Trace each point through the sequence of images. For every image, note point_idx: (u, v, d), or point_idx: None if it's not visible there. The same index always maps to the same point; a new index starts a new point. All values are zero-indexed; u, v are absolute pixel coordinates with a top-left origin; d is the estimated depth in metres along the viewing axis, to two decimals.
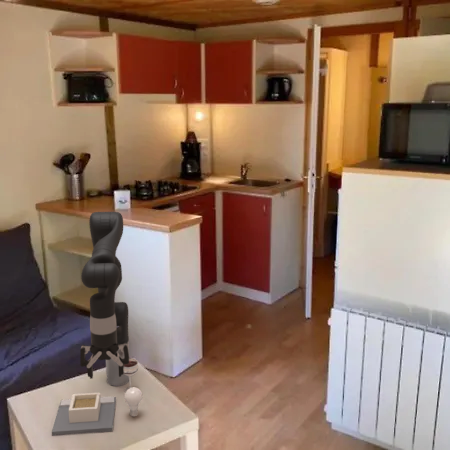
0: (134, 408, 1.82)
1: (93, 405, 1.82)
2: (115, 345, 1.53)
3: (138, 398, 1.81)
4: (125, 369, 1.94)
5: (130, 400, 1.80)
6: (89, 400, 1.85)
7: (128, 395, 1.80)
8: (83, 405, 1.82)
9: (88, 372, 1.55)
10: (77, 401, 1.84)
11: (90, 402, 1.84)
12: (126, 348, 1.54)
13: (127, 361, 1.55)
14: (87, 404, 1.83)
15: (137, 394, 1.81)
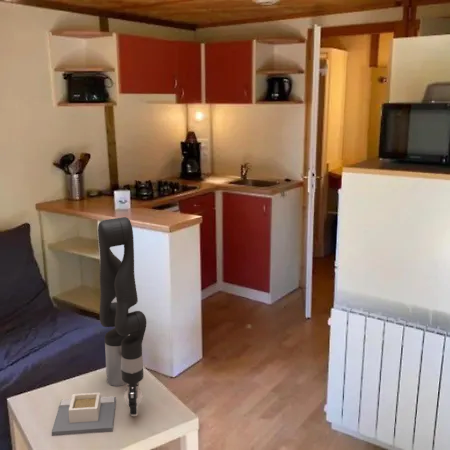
0: None
1: (93, 405, 1.82)
2: None
3: (138, 398, 1.81)
4: None
5: None
6: (89, 400, 1.85)
7: None
8: (83, 405, 1.82)
9: (135, 409, 1.80)
10: (77, 401, 1.84)
11: (90, 402, 1.84)
12: None
13: None
14: (87, 404, 1.83)
15: None
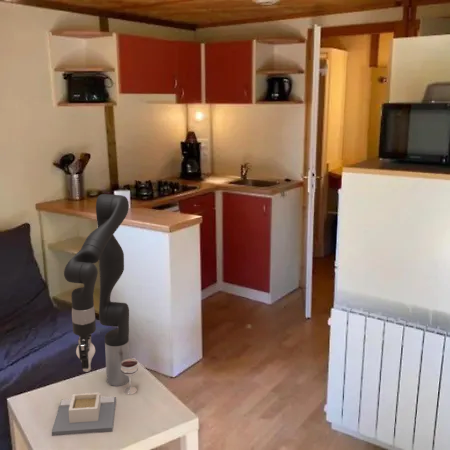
0: None
1: (93, 405, 1.82)
2: None
3: (90, 351, 1.75)
4: (125, 369, 1.94)
5: None
6: (89, 400, 1.85)
7: None
8: (83, 405, 1.82)
9: (86, 363, 1.74)
10: (77, 401, 1.84)
11: (90, 402, 1.84)
12: None
13: None
14: (87, 404, 1.83)
15: None
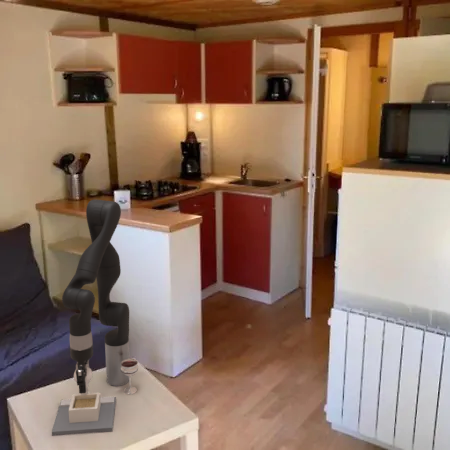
0: None
1: (93, 405, 1.82)
2: None
3: (87, 376, 1.77)
4: (125, 369, 1.94)
5: None
6: (89, 400, 1.85)
7: None
8: (83, 405, 1.82)
9: (84, 388, 1.76)
10: (77, 401, 1.84)
11: (90, 402, 1.84)
12: None
13: None
14: (87, 404, 1.83)
15: (87, 373, 1.77)
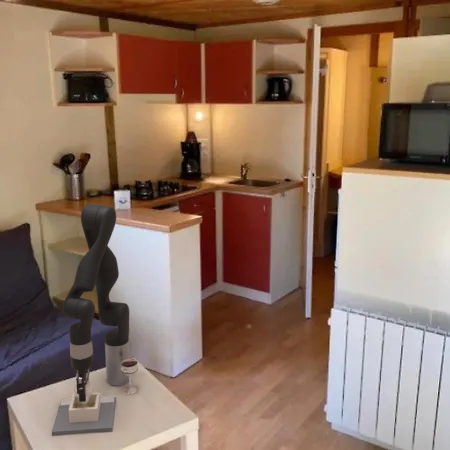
0: None
1: None
2: None
3: (87, 390, 1.79)
4: (125, 369, 1.94)
5: None
6: (89, 405, 1.86)
7: None
8: None
9: (84, 396, 1.76)
10: (77, 406, 1.85)
11: None
12: None
13: (89, 370, 1.86)
14: None
15: (87, 387, 1.79)
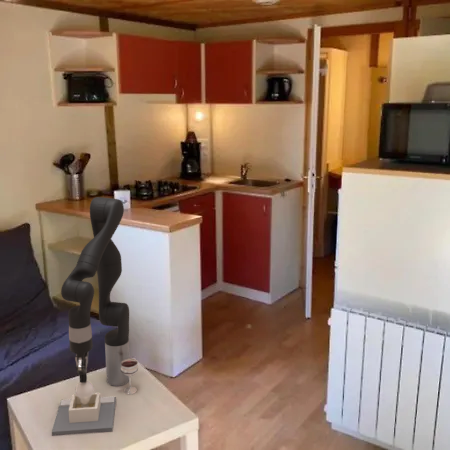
0: (85, 402, 1.80)
1: None
2: None
3: (88, 391, 1.79)
4: (125, 369, 1.94)
5: (80, 393, 1.78)
6: (89, 405, 1.86)
7: (78, 388, 1.78)
8: None
9: (84, 377, 1.78)
10: (77, 406, 1.85)
11: None
12: None
13: (87, 363, 1.81)
14: None
15: (88, 388, 1.79)
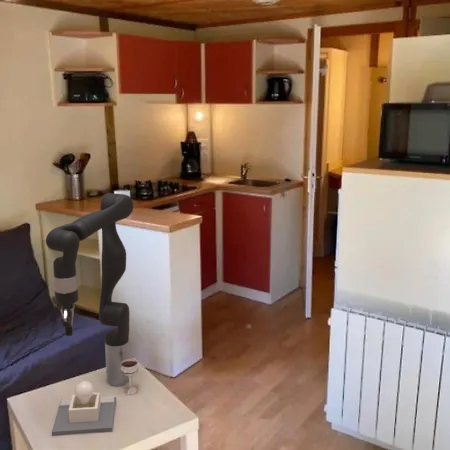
0: (85, 402, 1.80)
1: None
2: None
3: (88, 392, 1.78)
4: (125, 369, 1.94)
5: (80, 394, 1.78)
6: (89, 405, 1.86)
7: (78, 389, 1.78)
8: None
9: (70, 330, 1.75)
10: (77, 406, 1.85)
11: None
12: None
13: (73, 316, 1.78)
14: None
15: (88, 388, 1.79)
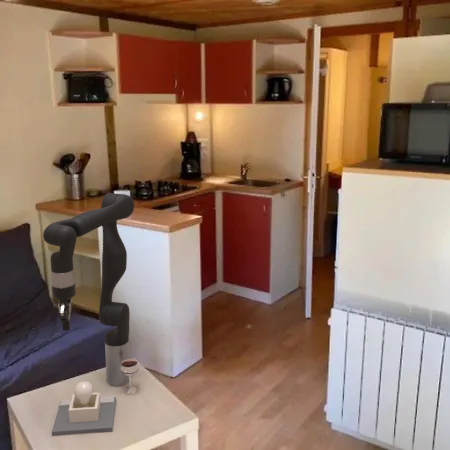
0: (84, 402, 1.80)
1: None
2: None
3: (87, 392, 1.78)
4: (125, 369, 1.94)
5: (79, 395, 1.78)
6: (89, 405, 1.86)
7: (77, 389, 1.78)
8: None
9: (67, 325, 1.76)
10: (77, 406, 1.85)
11: None
12: (71, 300, 1.81)
13: (70, 311, 1.79)
14: None
15: (87, 389, 1.78)
